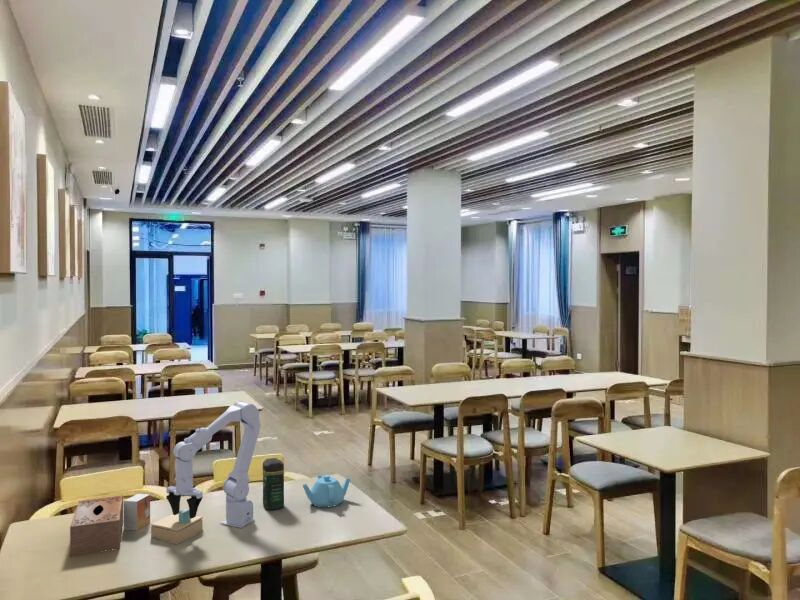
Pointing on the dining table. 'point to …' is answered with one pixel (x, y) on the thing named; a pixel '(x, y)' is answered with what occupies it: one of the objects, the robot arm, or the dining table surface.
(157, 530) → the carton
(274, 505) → the coffee jar
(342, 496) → the teapot
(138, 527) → the small box
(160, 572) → the dining table surface
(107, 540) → the tissue box cover
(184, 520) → the tan flat square block
